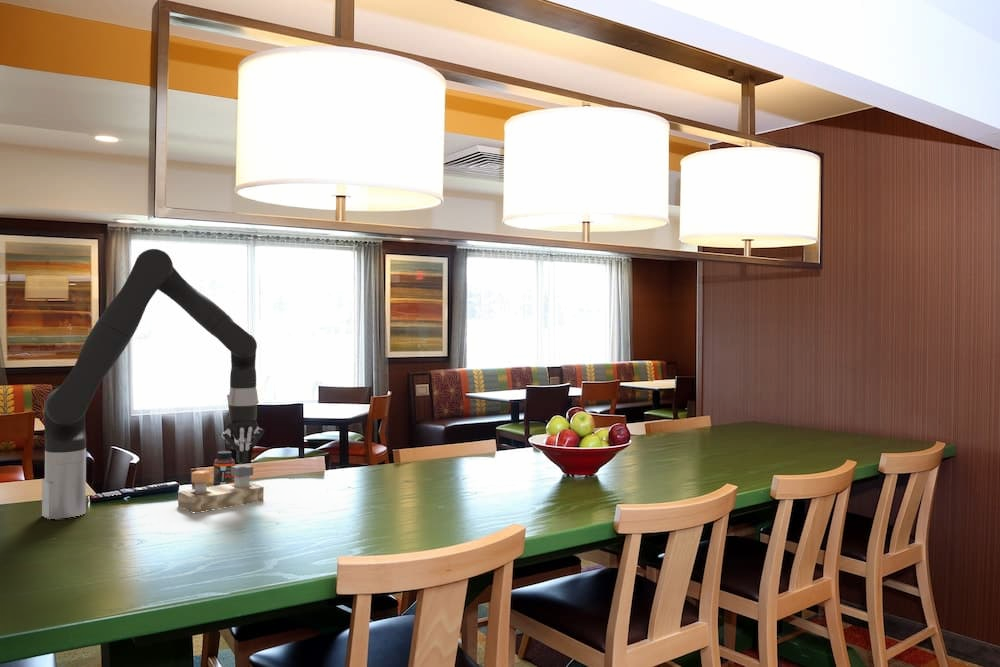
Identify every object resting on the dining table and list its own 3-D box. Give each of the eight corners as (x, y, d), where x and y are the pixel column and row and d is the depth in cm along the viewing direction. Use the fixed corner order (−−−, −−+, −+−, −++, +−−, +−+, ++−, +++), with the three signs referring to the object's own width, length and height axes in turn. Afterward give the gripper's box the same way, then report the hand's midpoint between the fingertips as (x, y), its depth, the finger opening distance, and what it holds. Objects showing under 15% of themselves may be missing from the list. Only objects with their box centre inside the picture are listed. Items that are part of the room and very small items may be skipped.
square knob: (238, 491, 209) (238, 468, 209) (230, 488, 212) (231, 466, 212) (252, 488, 212) (253, 466, 212) (245, 486, 215) (245, 464, 215)
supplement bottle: (227, 492, 221) (227, 454, 220) (209, 490, 222) (209, 453, 221) (238, 487, 226) (238, 450, 226) (220, 486, 228) (221, 449, 227)
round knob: (196, 498, 200) (196, 475, 200) (188, 495, 203) (188, 472, 203) (212, 495, 204) (212, 472, 203) (205, 492, 207) (205, 469, 207)
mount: (194, 513, 197) (194, 498, 197) (178, 506, 204) (178, 491, 204) (263, 500, 212) (263, 486, 212) (246, 494, 219) (246, 480, 218)
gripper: (226, 406, 204) (226, 469, 205) (270, 402, 214) (270, 462, 214) (214, 403, 209) (213, 464, 210) (257, 400, 219) (257, 458, 219)
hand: (242, 463), depth 212 cm, fingers closed
